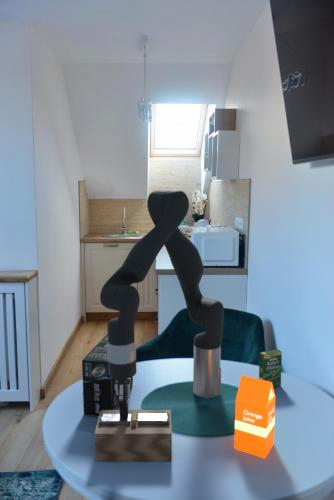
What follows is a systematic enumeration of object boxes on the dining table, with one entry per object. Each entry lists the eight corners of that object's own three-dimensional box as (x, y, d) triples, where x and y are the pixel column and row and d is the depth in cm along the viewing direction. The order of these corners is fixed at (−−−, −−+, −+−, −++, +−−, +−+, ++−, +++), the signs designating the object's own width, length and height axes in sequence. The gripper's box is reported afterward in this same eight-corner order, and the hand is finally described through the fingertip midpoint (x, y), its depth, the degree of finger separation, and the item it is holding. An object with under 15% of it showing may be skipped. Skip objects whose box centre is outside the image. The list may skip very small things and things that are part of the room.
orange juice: (243, 435, 128) (246, 369, 125) (273, 444, 124) (276, 376, 121) (233, 449, 122) (235, 380, 119) (265, 459, 117) (267, 388, 114)
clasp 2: (169, 416, 123) (169, 413, 123) (169, 424, 119) (169, 420, 119) (138, 416, 123) (138, 412, 123) (137, 424, 119) (137, 420, 119)
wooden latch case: (170, 435, 128) (170, 404, 127) (171, 461, 116) (171, 427, 115) (101, 435, 128) (100, 404, 126) (95, 462, 116) (94, 428, 114)
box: (113, 419, 137) (112, 361, 134) (82, 415, 139) (81, 358, 136) (133, 385, 159) (133, 335, 156) (107, 383, 161) (106, 333, 158)
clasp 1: (98, 425, 119) (98, 421, 118) (100, 417, 123) (100, 413, 122) (130, 425, 119) (130, 421, 119) (131, 417, 123) (131, 413, 123)
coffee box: (262, 390, 156) (263, 354, 154) (257, 386, 158) (258, 351, 156) (281, 386, 159) (282, 351, 157) (276, 383, 161) (277, 348, 159)
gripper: (134, 367, 111) (136, 431, 114) (137, 347, 124) (139, 405, 127) (104, 368, 111) (107, 431, 114) (110, 348, 124) (112, 405, 127)
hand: (124, 417), depth 121 cm, fingers closed
